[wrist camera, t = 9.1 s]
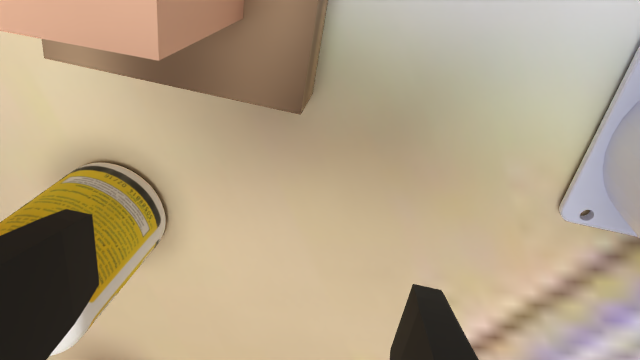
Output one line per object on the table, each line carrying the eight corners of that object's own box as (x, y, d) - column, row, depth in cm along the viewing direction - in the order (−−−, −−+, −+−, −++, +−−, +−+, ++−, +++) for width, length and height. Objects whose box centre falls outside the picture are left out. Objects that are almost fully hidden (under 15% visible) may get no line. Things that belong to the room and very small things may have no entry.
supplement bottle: (68, 143, 22) (-146, 276, 13) (175, 180, 22) (29, 335, 13) (67, 230, 25) (-111, 386, 16) (162, 262, 25) (34, 436, 16)
